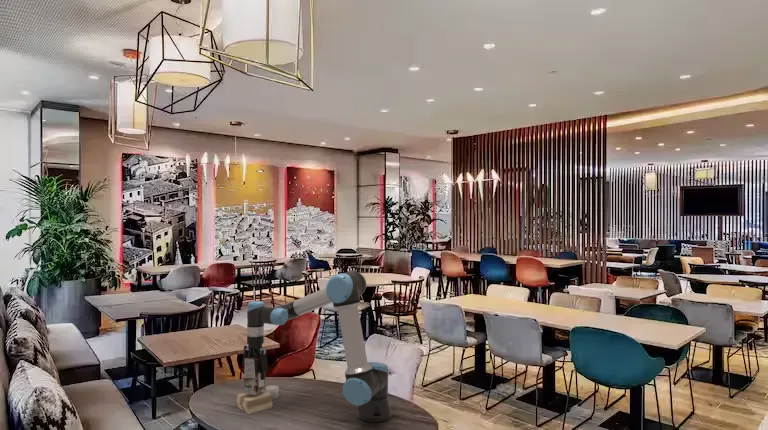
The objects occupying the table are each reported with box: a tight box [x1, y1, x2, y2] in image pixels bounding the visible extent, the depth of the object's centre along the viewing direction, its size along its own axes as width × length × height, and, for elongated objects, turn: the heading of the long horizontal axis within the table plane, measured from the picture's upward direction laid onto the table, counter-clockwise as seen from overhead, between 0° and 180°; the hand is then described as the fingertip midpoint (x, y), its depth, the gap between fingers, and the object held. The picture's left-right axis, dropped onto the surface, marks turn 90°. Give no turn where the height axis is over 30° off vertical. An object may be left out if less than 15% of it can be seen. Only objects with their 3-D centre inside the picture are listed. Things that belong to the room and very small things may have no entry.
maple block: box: [235, 389, 273, 415], centre depth 224 cm, size 12×12×6 cm
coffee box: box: [243, 355, 266, 395], centre depth 224 cm, size 9×6×16 cm
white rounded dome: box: [265, 384, 279, 401], centre depth 236 cm, size 6×6×5 cm
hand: (254, 384), depth 224 cm, fingers open, 8 cm apart
